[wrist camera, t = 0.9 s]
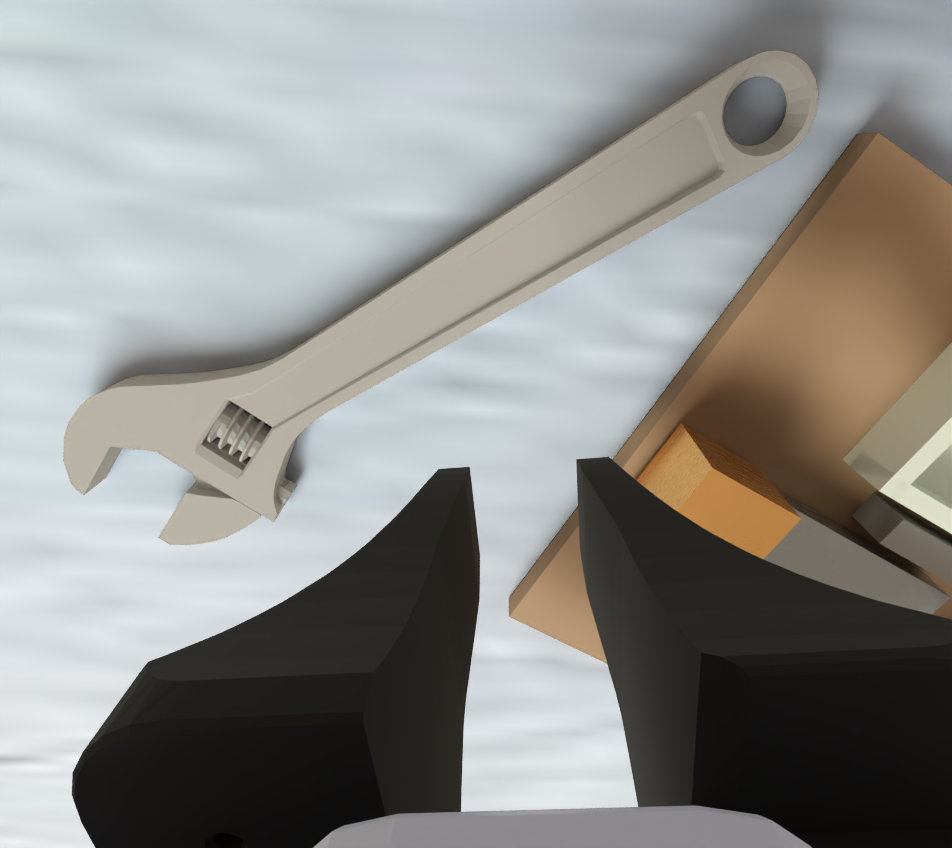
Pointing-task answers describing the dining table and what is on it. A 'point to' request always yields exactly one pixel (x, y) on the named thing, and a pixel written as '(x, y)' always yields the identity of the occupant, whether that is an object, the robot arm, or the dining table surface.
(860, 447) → the tray
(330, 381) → the adjustable wrench
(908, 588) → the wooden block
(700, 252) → the dining table surface
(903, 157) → the holder
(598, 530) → the robot arm
